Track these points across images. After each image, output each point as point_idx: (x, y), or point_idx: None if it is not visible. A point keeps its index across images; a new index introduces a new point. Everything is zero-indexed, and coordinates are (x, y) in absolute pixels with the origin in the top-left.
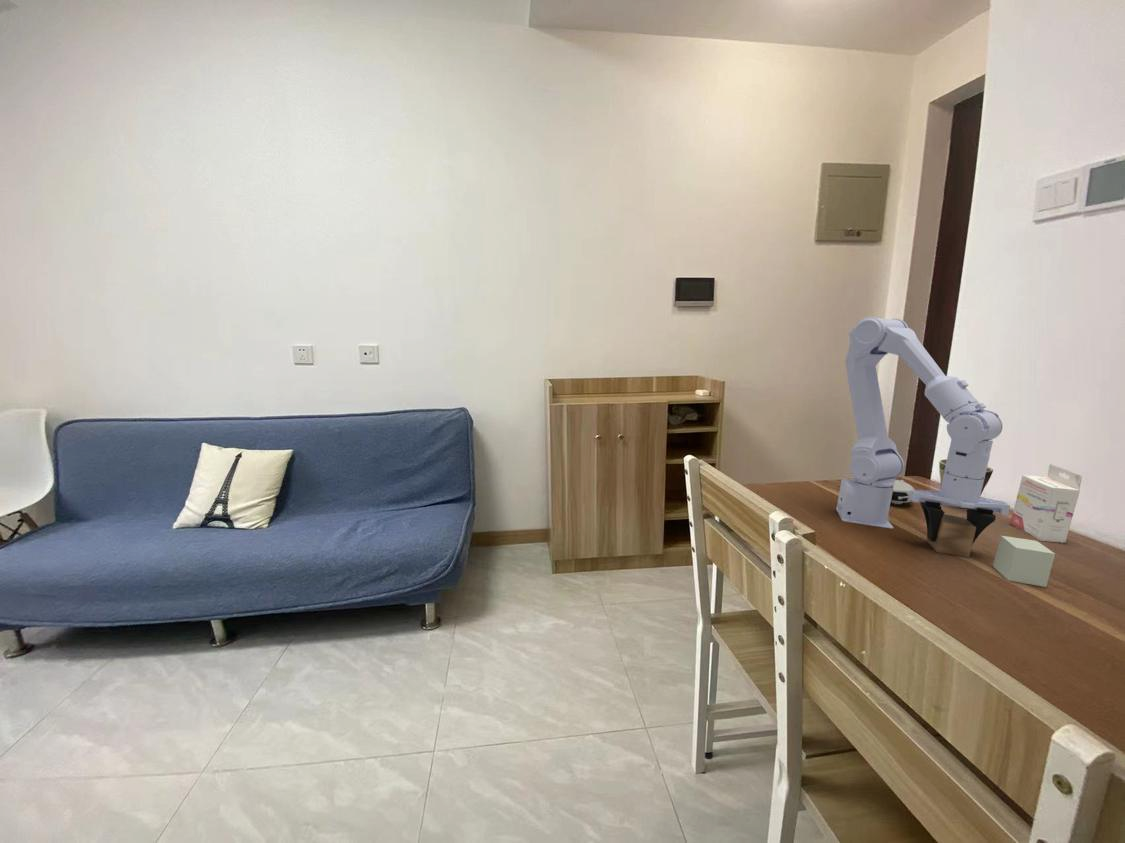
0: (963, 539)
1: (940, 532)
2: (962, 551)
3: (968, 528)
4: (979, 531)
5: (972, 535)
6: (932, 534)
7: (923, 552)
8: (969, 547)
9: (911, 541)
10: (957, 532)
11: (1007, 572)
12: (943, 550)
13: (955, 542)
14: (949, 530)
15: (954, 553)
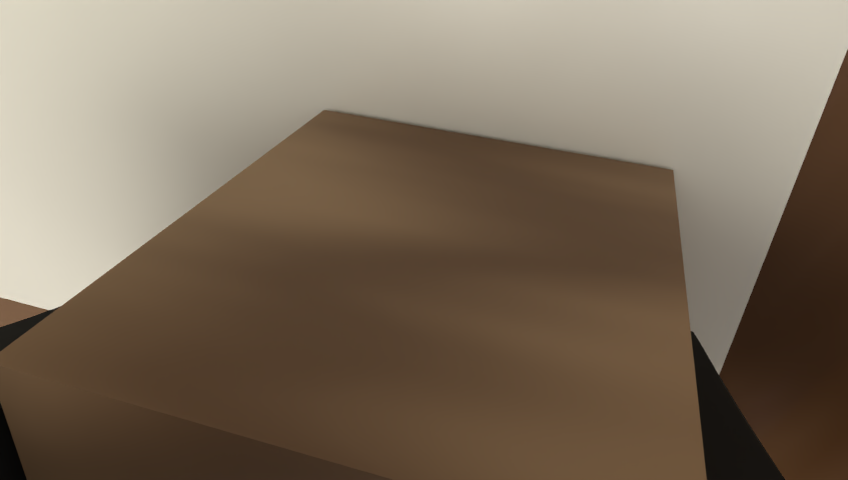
0: (325, 228)
1: (683, 365)
2: (378, 143)
3: (156, 356)
4: (12, 338)
5: (161, 254)
6: (727, 397)
7: (843, 167)
8: (283, 159)
9: (765, 437)
10: (389, 323)
11: None
12: (594, 173)
13: (444, 217)
14: (540, 364)
15: (470, 140)
